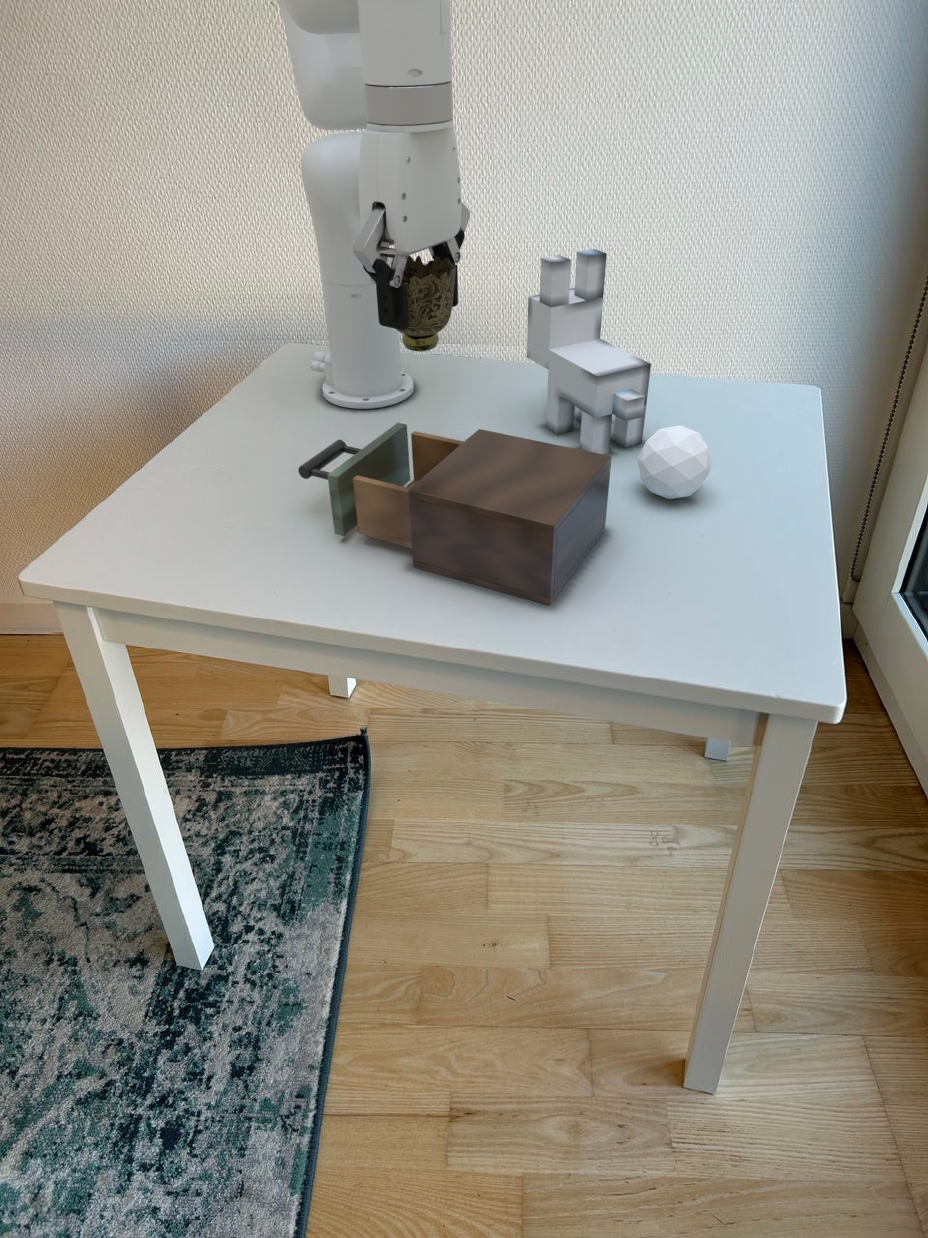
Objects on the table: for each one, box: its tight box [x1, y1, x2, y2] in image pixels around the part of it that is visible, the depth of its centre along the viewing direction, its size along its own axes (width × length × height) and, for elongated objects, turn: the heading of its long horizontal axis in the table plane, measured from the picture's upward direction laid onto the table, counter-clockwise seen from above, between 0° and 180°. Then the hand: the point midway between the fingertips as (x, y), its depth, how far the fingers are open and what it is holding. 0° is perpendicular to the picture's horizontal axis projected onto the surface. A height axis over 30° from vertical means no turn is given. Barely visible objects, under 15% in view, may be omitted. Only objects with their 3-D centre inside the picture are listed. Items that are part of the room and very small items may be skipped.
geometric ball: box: [636, 424, 713, 500], centre depth 93 cm, size 8×8×8 cm
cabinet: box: [408, 428, 612, 606], centre depth 85 cm, size 15×15×9 cm
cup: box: [386, 255, 456, 353], centre depth 84 cm, size 8×7×8 cm
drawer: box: [297, 422, 465, 549], centre depth 90 cm, size 20×13×7 cm
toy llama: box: [526, 248, 652, 455], centre depth 103 cm, size 8×18×20 cm, turn 29°
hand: (419, 314), depth 85 cm, fingers closed on cup, 7 cm apart
